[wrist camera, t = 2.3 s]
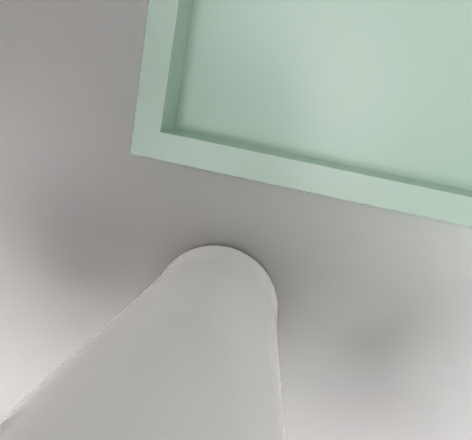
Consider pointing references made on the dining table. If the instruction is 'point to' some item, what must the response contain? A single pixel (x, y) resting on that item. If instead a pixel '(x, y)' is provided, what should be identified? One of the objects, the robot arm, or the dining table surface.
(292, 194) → the dining table surface
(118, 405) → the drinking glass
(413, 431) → the dining table surface
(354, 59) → the tray
